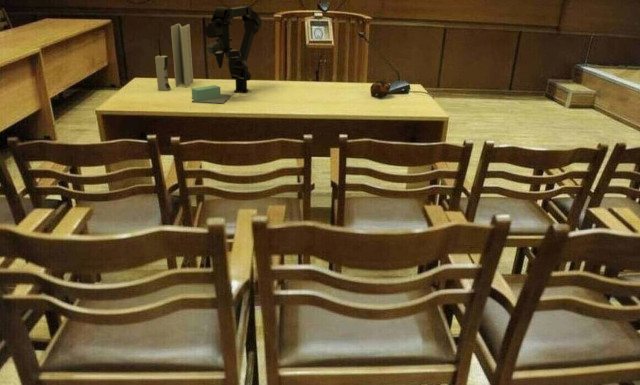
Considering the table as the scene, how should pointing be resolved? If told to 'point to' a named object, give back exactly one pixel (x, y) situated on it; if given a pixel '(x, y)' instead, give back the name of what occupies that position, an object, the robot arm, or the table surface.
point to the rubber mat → (215, 100)
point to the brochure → (182, 54)
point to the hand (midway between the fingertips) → (225, 69)
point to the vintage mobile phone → (162, 71)
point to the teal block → (206, 93)
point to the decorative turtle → (380, 88)
